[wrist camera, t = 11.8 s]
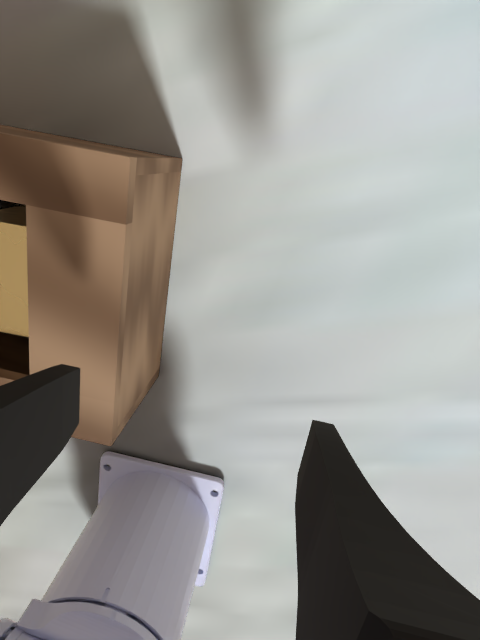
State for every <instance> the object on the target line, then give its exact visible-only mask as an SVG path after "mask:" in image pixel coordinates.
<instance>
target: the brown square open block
mask: <svg viewBox="0 0 480 640" xmlns="http://www.w3.org/2000/svg"><path fill="white" fill-rule="evenodd" d="M181 168H182V158H177V157H172V156H166V155H161V154H156V153H150V152H145V151H139V150H134V149H129V148H123V147H118V146H113V145H107V144H102V143H96V142H91V141H86V140H80V139H75V138H69V137H64V136H59V135H53V134H48V133H42V132H37V131H32V130H26V129H21V128H16V127H10V126H5V125H0V200H4V201H9V202H14V203H19V204H24V205H26V228H27V275H28V322H29V338H26V337H21V336H17V335H12V334H8V333H3V332H0V386H1V385H4V384H6V383H9V382H12V381H15V380H17V379H20V378H23V377H25V376H28V375H31V374H33V373H36V372H39V371H41V370H44V369H47V368H50V367H53V366H56V365H59V364H65V365H69V366H74V367H78V368H80V410H79V424H78V426H77V428H76V429H75V431H74V433H73V434H72V436H71V437H74V438H78V439H82V440H86V441H90V442H95V443H99V444H103V445H107V446H112V444H113V443H114V441H115V440H116V439H117V437H118V436H119V434H120V433H121V431H122V430H123V428H124V427H125V425H126V424H127V422H128V421H129V419H130V418H131V416H132V415H133V413H134V412H135V410H136V409H137V407H138V406H139V405H140V403H141V402H142V400H143V399H144V397H145V396H146V394H147V393H148V391H149V390H150V388H151V387H152V385H153V384H154V382H155V381H156V379H157V378H158V376H159V368H160V359H161V350H162V341H163V331H164V322H165V313H166V304H167V295H168V286H169V277H170V268H171V259H172V249H173V240H174V231H175V222H176V213H177V204H178V195H179V186H180V177H181Z"/></svg>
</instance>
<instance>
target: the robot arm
mask: <svg viewBox="0 0 480 640" xmlns="http://www.w3.org/2000/svg"><path fill="white" fill-rule="evenodd" d="M79 410H80V368H78V367H74V366H69V365H65V364H59V365H56V366H53V367H50V368H47V369H44V370H41V371H39V372H36V373H33V374H31V375H28V376H25V377H23V378H20V379H17V380H15V381H12V382H9V383H6V384H4V385H1V386H0V526H1V524H2V523H3V522H4V520H5V519H6V518H7V517H8V515H9V514H10V513H11V511H12V510H13V509H14V508H15V506H16V505H17V504H18V503H19V502H20V500H21V499H22V498H23V497H24V496H25V495H26V493H27V492H28V491H29V490H30V489H31V487H32V486H33V485H34V484H35V483H36V481H37V480H38V479H39V478H40V477H41V476H42V474H43V473H44V472H45V471H46V470H47V468H48V467H49V466H50V465H51V463H52V462H53V461H54V460H55V459H56V457H57V456H58V455H59V454H60V452H61V451H62V450H63V448H64V447H65V445H66V444H67V442H68V441H69V439H70V438H71V436H72V434H73V433H74V431H75V429H76V428H77V426H78V424H79ZM106 464H108V465H110V467H109V466H107V465H106ZM212 490H215V491H217V492H213V491H212ZM223 490H224V481H223V480H222V479H221V478H218V477H214V476H210V475H206V474H202V473H198V472H193V471H189V470H185V469H181V468H177V467H173V466H168V465H164V464H160V463H156V462H152V461H148V460H143V459H139V458H135V457H131V456H127V455H123V454H118V453H114V452H109V451H107V452H105V453H103V455H102V456H101V459H100V474H99V492H98V506H97V508H96V510H95V511H94V513H93V515H92V516H91V518H90V520H89V521H88V523H87V525H86V526H85V528H84V530H83V531H82V533H81V535H80V536H79V538H78V540H77V541H76V543H75V545H74V546H73V548H72V550H71V551H70V553H69V555H68V556H67V558H66V560H65V561H64V563H63V565H62V566H61V568H60V570H59V571H58V573H57V575H56V576H55V578H54V580H53V582H52V583H51V585H50V587H49V588H48V590H47V592H46V593H45V595H44V597H43V598H42V600H41V601H40V600H37V599H32V601H31V602H30V604H29V605H28V607H27V609H26V610H25V612H24V613H23V615H22V617H21V618H20V620H19V621H18V623H17V622H15V621H13V620H11V619H9V618H4V619H1V620H0V640H181V636H182V632H183V629H184V625H185V621H186V617H187V613H188V609H189V605H190V601H191V598H192V594H193V590H194V586H202V585H204V584H205V580H206V575H207V570H208V565H209V560H210V555H211V550H212V545H213V540H214V535H215V530H216V525H217V520H218V515H219V510H220V505H221V500H222V495H223ZM295 516H296V543H297V569H298V608H297V626H296V640H480V600H479V599H478V598H476V597H475V596H474V595H473V594H471V593H470V592H469V591H468V590H467V589H466V588H465V587H463V586H462V585H461V584H460V583H459V582H458V581H457V580H455V579H454V578H453V577H452V576H451V575H450V574H449V573H448V572H446V571H445V570H444V569H443V568H442V567H441V566H440V565H439V564H438V563H437V562H436V561H435V560H434V559H433V558H432V557H431V556H430V555H429V554H428V553H427V552H426V551H425V550H424V549H423V548H422V547H421V546H420V545H419V544H418V543H417V542H416V541H415V540H414V539H413V538H412V537H411V536H410V535H409V534H408V533H407V532H406V530H405V529H404V528H403V527H402V526H401V525H400V523H399V522H398V521H397V520H396V519H395V518H394V516H393V515H392V514H391V513H390V512H389V510H388V509H387V508H386V507H385V505H384V504H383V503H382V502H381V500H380V499H379V497H378V496H377V495H376V493H375V492H374V491H373V489H372V488H371V486H370V485H369V483H368V482H367V480H366V479H365V477H364V476H363V474H362V473H361V471H360V469H359V468H358V466H357V465H356V463H355V461H354V460H353V458H352V456H351V455H350V453H349V451H348V449H347V448H346V446H345V444H344V442H343V440H342V439H341V437H340V435H339V433H338V431H337V430H336V428H335V426H334V425H333V424H329V423H325V422H320V421H316V420H313V421H312V424H311V428H310V432H309V435H308V439H307V443H306V446H305V450H304V453H303V457H302V461H301V464H300V468H299V472H298V478H297V489H296V502H295Z"/></svg>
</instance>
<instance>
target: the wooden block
mask: <svg viewBox="0 0 480 640" xmlns="http://www.w3.org/2000/svg"><path fill="white" fill-rule="evenodd" d="M0 332H5V333H10V334H15V335H21V336H26V337H29V322H28V275H27V228H26V205H24V206H18V207H11V208H5V209H0Z"/></svg>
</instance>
